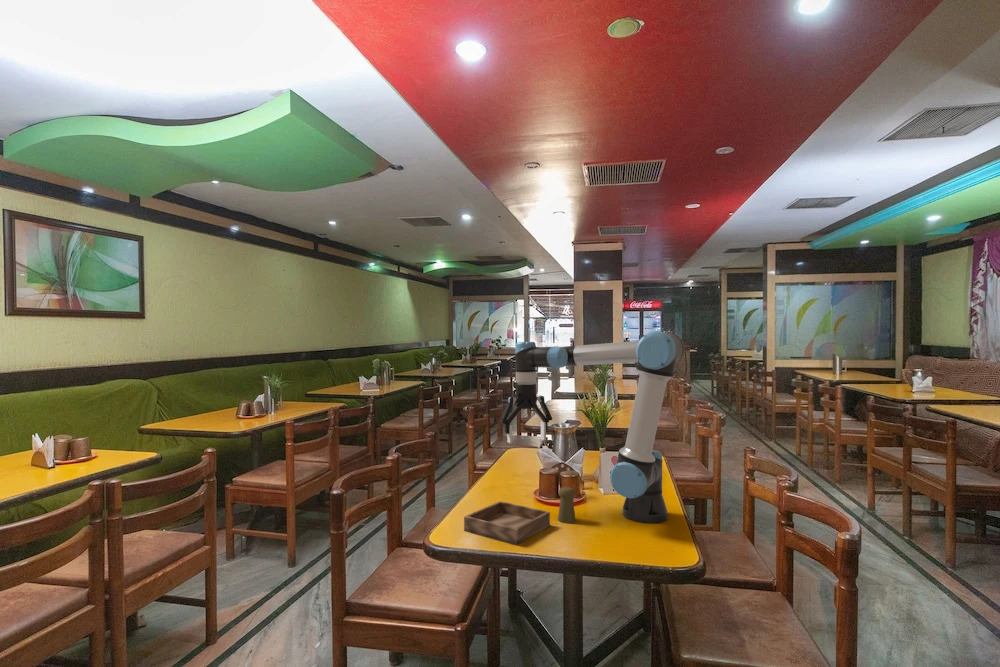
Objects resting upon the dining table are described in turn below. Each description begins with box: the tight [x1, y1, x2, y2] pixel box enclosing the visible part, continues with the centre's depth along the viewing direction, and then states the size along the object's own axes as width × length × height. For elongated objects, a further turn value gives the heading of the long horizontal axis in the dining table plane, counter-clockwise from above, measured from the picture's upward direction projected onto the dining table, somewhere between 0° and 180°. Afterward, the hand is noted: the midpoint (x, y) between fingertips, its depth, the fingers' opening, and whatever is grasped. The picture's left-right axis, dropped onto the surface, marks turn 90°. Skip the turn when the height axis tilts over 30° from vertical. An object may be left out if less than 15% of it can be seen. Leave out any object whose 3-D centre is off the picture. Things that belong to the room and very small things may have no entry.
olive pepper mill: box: [557, 486, 577, 524], centre depth 174 cm, size 6×6×11 cm
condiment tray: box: [463, 500, 551, 546], centre depth 166 cm, size 20×20×4 cm
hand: (526, 441), depth 189 cm, fingers open, 13 cm apart
